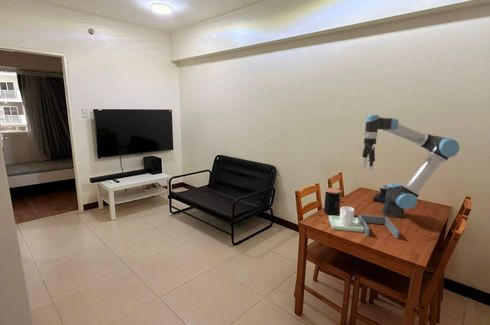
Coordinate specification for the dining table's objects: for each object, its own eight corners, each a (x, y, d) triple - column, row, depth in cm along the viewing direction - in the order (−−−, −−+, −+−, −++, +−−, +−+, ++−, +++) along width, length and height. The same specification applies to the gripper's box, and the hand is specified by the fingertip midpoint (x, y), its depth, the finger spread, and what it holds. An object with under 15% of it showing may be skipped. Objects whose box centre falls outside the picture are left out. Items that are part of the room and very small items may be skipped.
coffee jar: (336, 217, 190) (339, 193, 187) (322, 213, 196) (324, 190, 192) (340, 212, 199) (342, 189, 195) (326, 209, 205) (327, 187, 201)
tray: (356, 220, 184) (357, 217, 183) (363, 232, 167) (364, 228, 167) (328, 218, 187) (328, 215, 186) (332, 229, 170) (332, 225, 170)
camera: (374, 186, 220) (378, 181, 232) (372, 202, 224) (377, 196, 235) (395, 190, 211) (399, 184, 222) (393, 207, 215) (397, 200, 226)
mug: (336, 225, 174) (337, 210, 172) (341, 219, 184) (342, 205, 182) (349, 229, 169) (351, 213, 167) (354, 222, 179) (355, 208, 177)
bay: (385, 223, 181) (386, 216, 180) (398, 238, 159) (399, 231, 158) (357, 221, 183) (358, 214, 182) (366, 236, 162) (367, 228, 161)
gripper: (359, 136, 189) (356, 164, 194) (370, 140, 165) (366, 172, 170) (370, 136, 188) (367, 165, 193) (382, 140, 164) (378, 173, 168)
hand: (366, 168), depth 181 cm, fingers open, 13 cm apart
